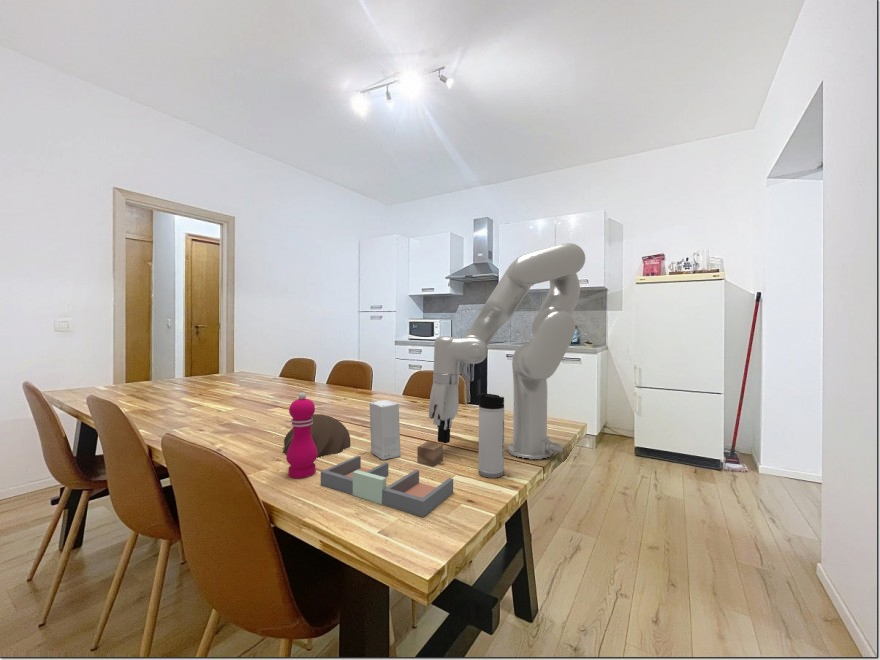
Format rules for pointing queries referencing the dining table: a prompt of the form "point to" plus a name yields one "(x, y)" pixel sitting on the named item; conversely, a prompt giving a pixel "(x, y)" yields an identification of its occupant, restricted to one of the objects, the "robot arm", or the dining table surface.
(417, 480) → the bay rack
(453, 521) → the dining table surface
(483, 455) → the travel mug
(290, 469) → the pepper mill
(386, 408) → the skincare box
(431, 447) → the walnut block
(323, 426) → the decorative dome
